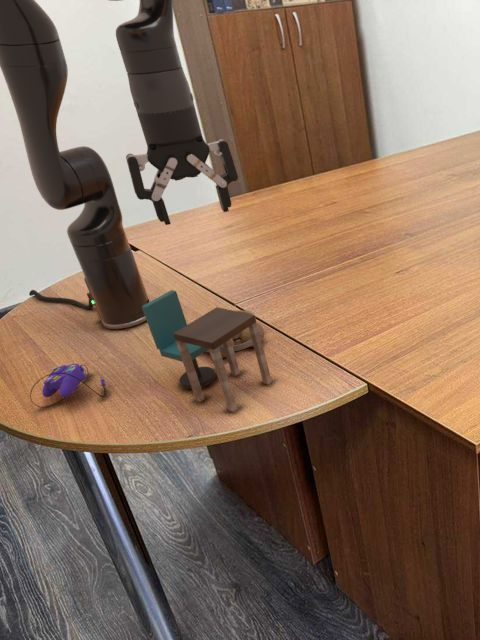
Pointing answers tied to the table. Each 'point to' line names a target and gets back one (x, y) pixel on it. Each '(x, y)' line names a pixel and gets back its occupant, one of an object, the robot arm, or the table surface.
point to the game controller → (65, 381)
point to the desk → (211, 335)
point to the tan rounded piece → (242, 338)
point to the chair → (163, 323)
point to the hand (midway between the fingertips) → (196, 216)
